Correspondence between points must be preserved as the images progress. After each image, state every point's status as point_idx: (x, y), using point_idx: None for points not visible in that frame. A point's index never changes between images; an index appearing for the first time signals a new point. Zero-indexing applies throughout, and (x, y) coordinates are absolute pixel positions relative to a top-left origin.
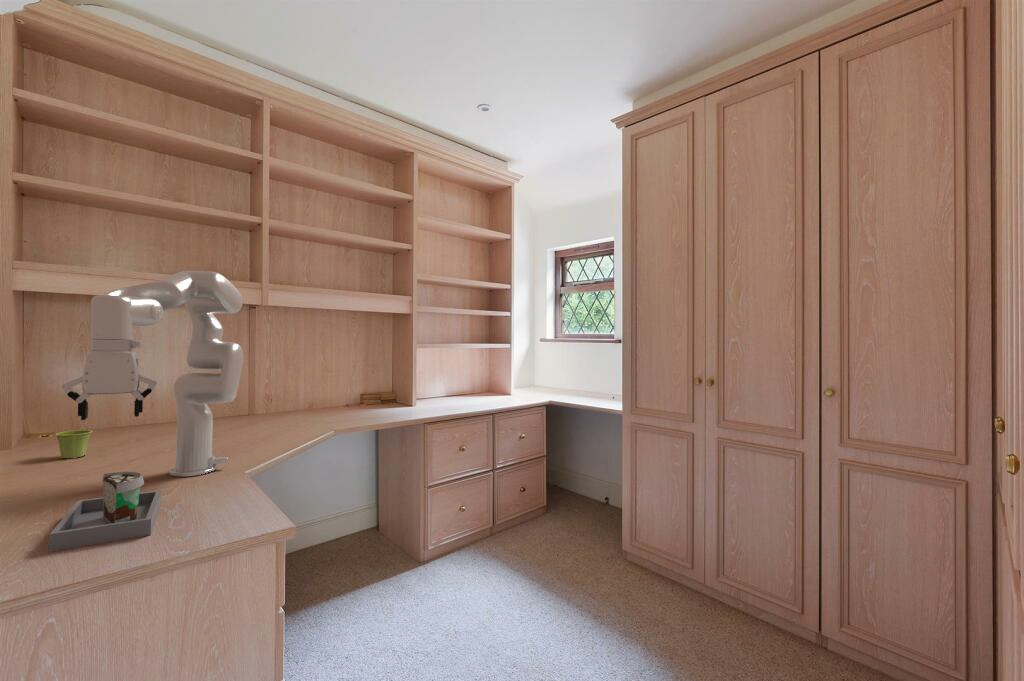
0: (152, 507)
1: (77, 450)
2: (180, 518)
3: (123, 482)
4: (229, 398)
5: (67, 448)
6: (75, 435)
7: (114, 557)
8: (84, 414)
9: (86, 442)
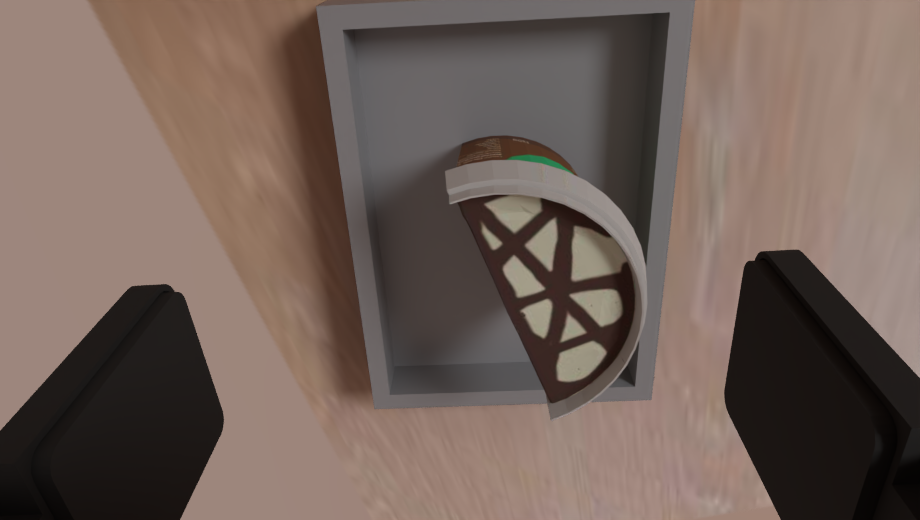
0: (654, 274)
1: None
2: (735, 241)
3: (575, 408)
4: None
5: None
6: None
7: (558, 472)
8: (192, 472)
9: None
